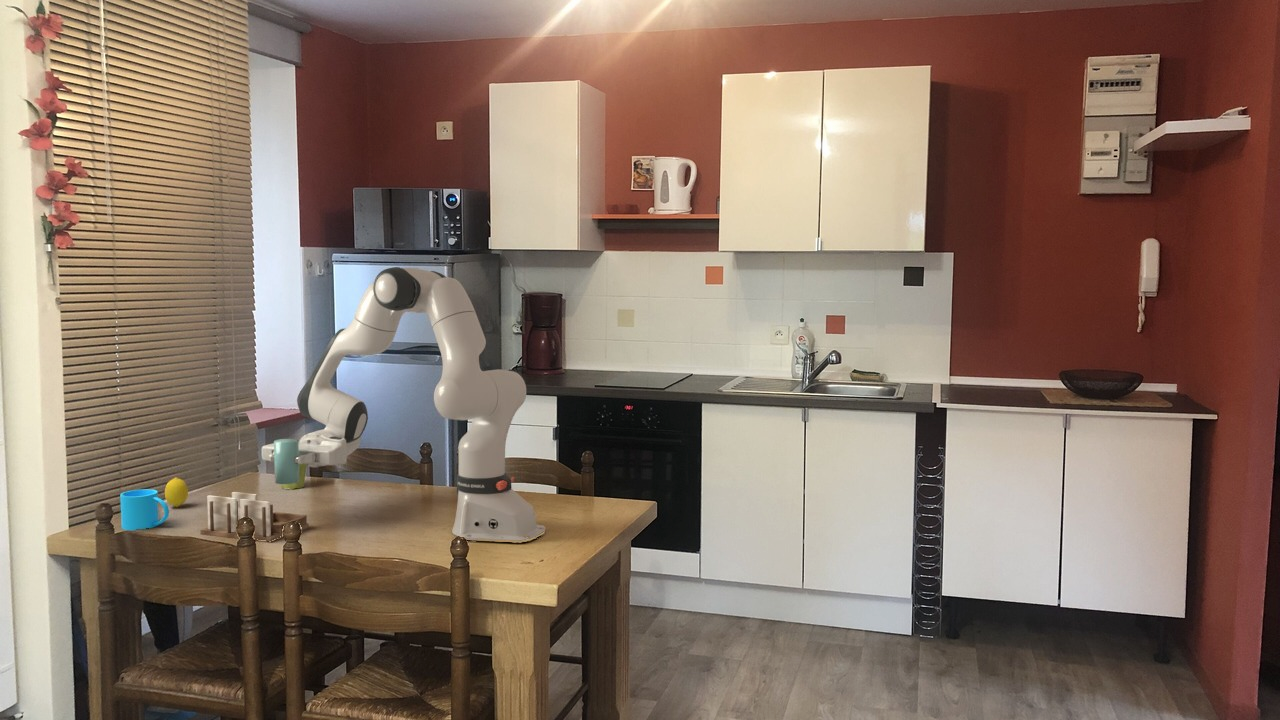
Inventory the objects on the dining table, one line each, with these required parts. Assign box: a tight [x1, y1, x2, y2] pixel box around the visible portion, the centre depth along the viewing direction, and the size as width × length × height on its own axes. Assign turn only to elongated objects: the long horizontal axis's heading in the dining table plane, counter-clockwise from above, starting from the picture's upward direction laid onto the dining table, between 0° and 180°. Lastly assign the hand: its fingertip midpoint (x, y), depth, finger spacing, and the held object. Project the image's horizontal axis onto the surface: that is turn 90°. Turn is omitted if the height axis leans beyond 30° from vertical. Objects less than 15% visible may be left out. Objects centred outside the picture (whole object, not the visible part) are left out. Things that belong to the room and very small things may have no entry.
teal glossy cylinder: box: [273, 438, 299, 485], centre depth 243 cm, size 6×6×10 cm
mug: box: [120, 488, 170, 531], centre depth 245 cm, size 12×8×8 cm
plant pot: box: [280, 463, 307, 490], centre depth 287 cm, size 9×9×9 cm
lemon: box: [164, 476, 189, 508], centre depth 263 cm, size 6×6×8 cm
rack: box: [199, 491, 310, 541], centre depth 242 cm, size 20×14×9 cm
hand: (284, 459), depth 242 cm, fingers closed on teal glossy cylinder, 6 cm apart
